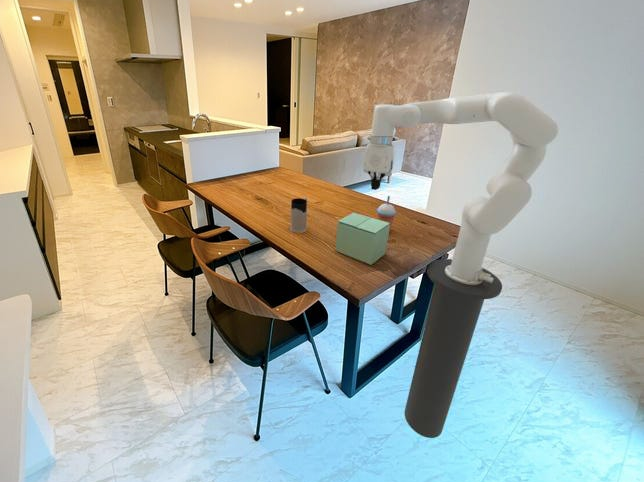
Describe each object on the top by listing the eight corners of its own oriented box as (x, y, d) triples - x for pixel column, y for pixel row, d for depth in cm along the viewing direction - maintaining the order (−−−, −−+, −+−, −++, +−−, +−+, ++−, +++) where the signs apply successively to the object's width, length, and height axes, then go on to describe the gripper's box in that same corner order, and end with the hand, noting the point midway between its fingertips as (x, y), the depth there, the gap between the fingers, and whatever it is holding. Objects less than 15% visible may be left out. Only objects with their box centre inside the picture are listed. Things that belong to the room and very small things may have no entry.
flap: (390, 223, 121) (390, 223, 121) (375, 233, 113) (375, 232, 112) (371, 218, 126) (371, 217, 126) (355, 227, 118) (356, 226, 118)
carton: (385, 253, 126) (390, 223, 121) (371, 265, 118) (375, 232, 112) (350, 240, 137) (353, 212, 132) (335, 250, 129) (337, 220, 123)
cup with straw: (371, 230, 147) (376, 197, 139) (377, 223, 154) (382, 191, 146) (390, 235, 142) (396, 201, 134) (395, 228, 149) (401, 195, 141)
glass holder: (286, 230, 148) (287, 202, 141) (298, 219, 159) (298, 193, 152) (303, 234, 144) (304, 206, 137) (313, 222, 155) (314, 195, 149)
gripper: (357, 139, 110) (352, 187, 117) (397, 143, 100) (389, 195, 107) (367, 137, 115) (362, 183, 122) (406, 141, 105) (398, 190, 112)
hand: (375, 188), depth 115 cm, fingers closed
